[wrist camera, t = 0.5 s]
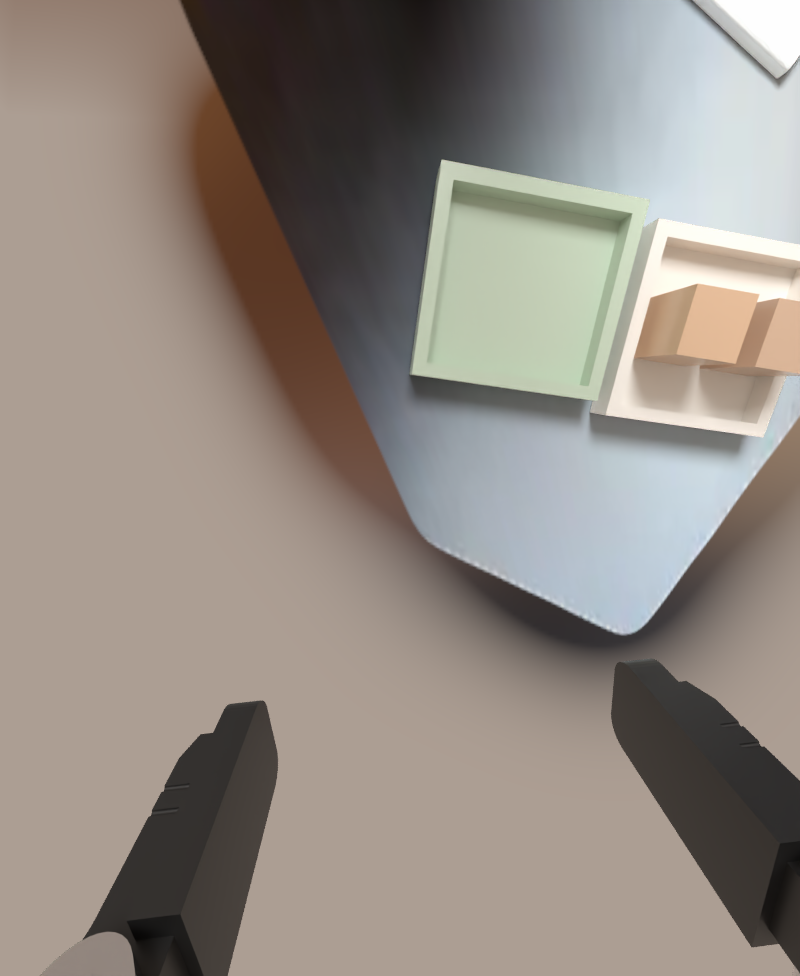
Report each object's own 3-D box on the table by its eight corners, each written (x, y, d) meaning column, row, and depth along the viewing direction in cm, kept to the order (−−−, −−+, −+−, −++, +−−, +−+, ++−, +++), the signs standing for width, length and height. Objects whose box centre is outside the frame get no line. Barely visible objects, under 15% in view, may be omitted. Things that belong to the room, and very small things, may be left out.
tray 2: (636, 231, 30) (658, 218, 28) (799, 261, 32) (834, 251, 29) (589, 412, 34) (605, 415, 32) (736, 433, 35) (763, 437, 33)
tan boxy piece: (647, 298, 31) (698, 283, 26) (700, 307, 31) (759, 294, 26) (631, 358, 32) (676, 354, 27) (682, 365, 32) (735, 363, 28)
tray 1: (436, 177, 29) (441, 159, 26) (628, 214, 30) (650, 199, 28) (409, 374, 32) (411, 374, 30) (581, 399, 34) (597, 400, 31)
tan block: (718, 310, 31) (779, 297, 26) (769, 318, 32) (839, 308, 27) (699, 368, 32) (755, 366, 28) (748, 376, 33) (812, 375, 28)
